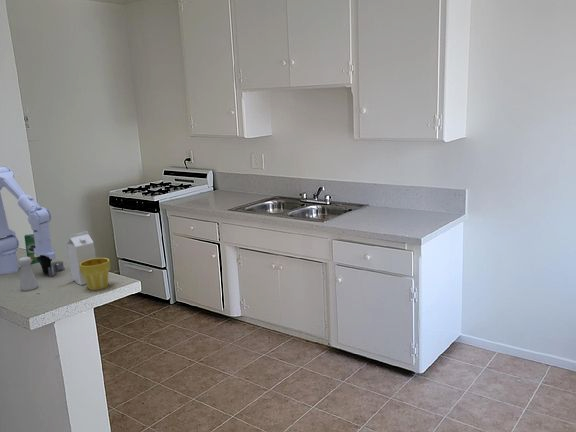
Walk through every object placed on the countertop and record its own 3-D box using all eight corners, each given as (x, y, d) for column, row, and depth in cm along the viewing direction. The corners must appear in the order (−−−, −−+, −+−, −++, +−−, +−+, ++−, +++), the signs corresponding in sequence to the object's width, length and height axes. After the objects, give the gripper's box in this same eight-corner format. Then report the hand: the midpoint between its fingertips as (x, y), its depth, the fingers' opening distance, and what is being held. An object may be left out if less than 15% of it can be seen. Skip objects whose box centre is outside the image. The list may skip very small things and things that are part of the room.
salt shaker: (41, 288, 199) (36, 254, 197) (34, 294, 194) (29, 259, 191) (25, 289, 199) (19, 256, 196) (18, 295, 193) (12, 260, 191)
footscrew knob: (53, 269, 220) (51, 260, 219) (65, 267, 220) (64, 259, 220) (44, 277, 209) (42, 268, 208) (57, 275, 210) (56, 266, 209)
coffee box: (48, 260, 238) (44, 232, 236) (48, 262, 236) (43, 233, 233) (28, 263, 236) (24, 234, 233) (28, 265, 233) (23, 236, 230)
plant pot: (92, 294, 189) (88, 267, 187) (77, 288, 196) (73, 263, 194) (118, 285, 197) (114, 259, 195) (103, 281, 204) (99, 256, 202)
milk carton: (72, 282, 205) (65, 233, 201) (90, 277, 210) (83, 229, 206) (81, 285, 200) (74, 236, 196) (99, 280, 205) (92, 232, 201)
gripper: (61, 240, 208) (65, 273, 210) (44, 235, 217) (48, 267, 220) (43, 244, 202) (47, 278, 205) (26, 238, 212) (31, 271, 215)
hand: (47, 273), depth 212 cm, fingers closed, pressing on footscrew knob
